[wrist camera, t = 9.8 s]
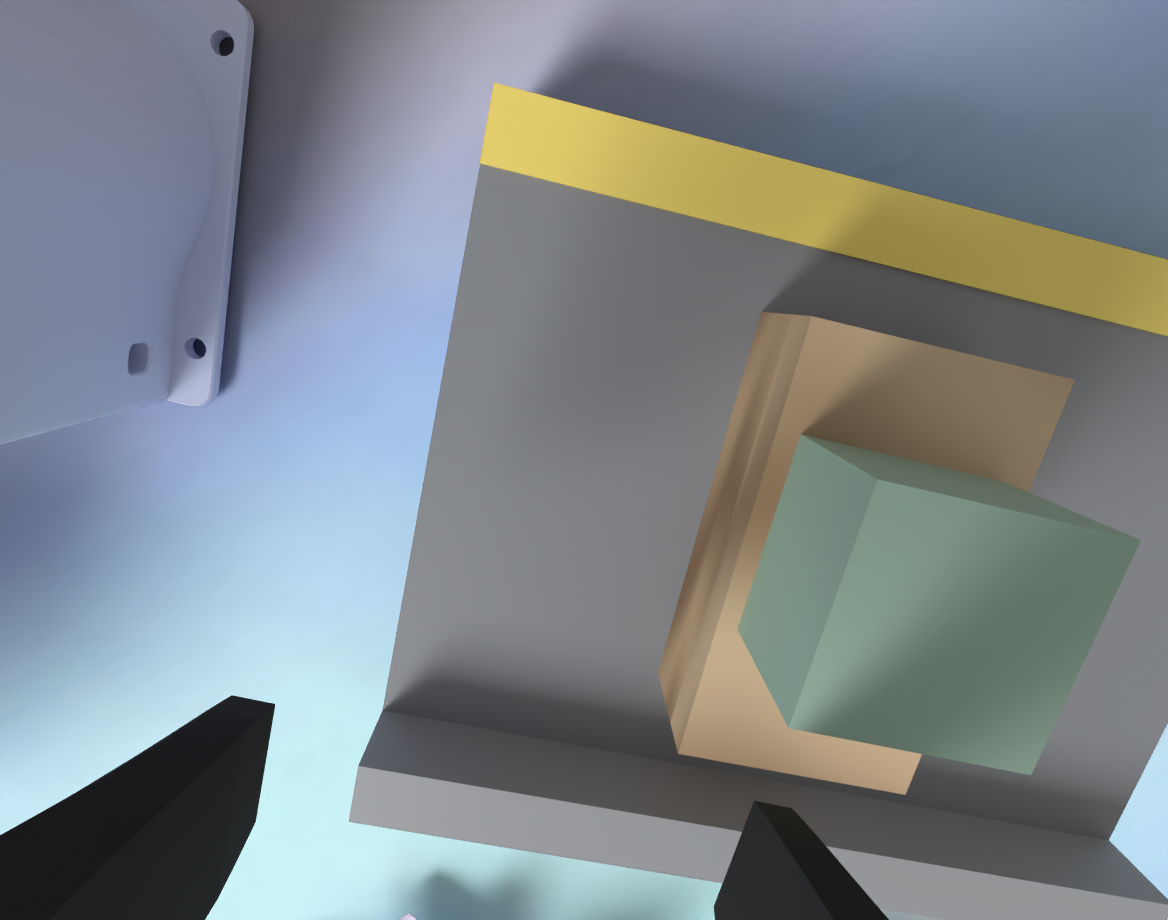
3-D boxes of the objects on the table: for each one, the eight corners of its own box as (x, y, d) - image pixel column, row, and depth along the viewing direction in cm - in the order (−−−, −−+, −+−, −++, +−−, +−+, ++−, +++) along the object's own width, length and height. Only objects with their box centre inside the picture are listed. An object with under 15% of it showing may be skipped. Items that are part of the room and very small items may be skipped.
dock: (1015, 803, 21) (1148, 952, 16) (401, 691, 20) (348, 821, 15) (1239, 311, 18) (1497, 318, 13) (507, 122, 16) (482, 47, 11)
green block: (927, 669, 13) (1031, 775, 10) (737, 629, 13) (788, 728, 10) (1003, 481, 12) (1140, 539, 9) (800, 434, 12) (877, 479, 9)
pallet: (846, 708, 17) (904, 794, 14) (657, 671, 16) (678, 754, 13) (973, 363, 15) (1075, 379, 12) (761, 311, 14) (812, 316, 11)
